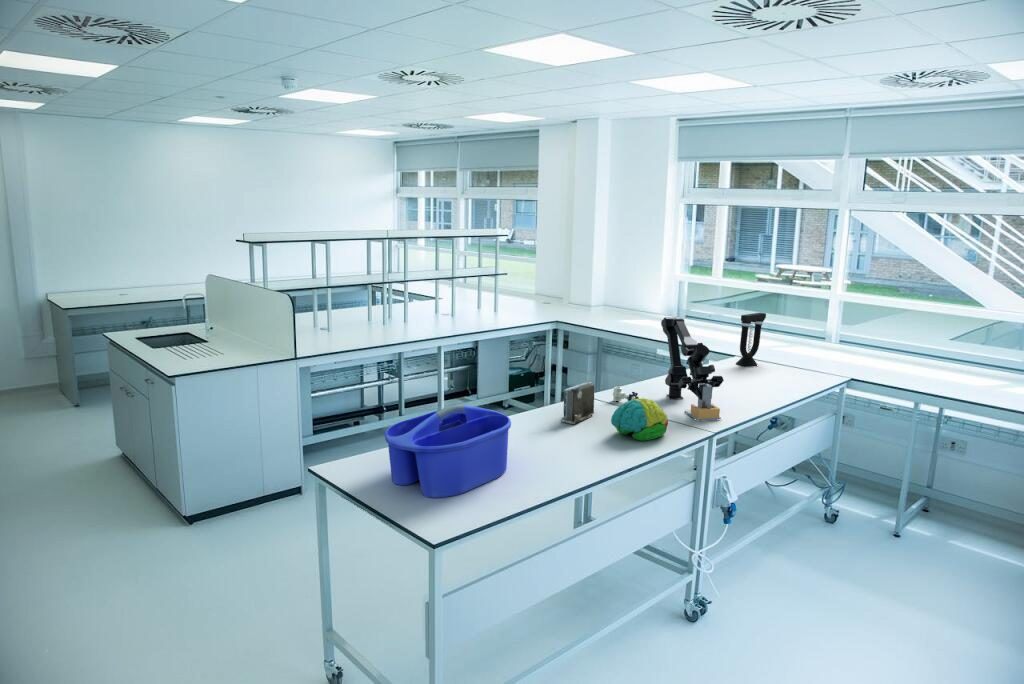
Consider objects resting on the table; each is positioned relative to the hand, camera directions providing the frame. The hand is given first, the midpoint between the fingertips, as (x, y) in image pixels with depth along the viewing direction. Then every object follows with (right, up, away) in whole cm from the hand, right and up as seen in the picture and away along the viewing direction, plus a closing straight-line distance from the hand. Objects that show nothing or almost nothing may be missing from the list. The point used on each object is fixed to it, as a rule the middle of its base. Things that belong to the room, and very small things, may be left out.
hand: (706, 399), depth 275 cm
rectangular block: (0, -7, +3) cm, 7 cm away
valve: (-31, -4, +23) cm, 39 cm away
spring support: (+56, +11, +104) cm, 119 cm away
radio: (-54, -8, +1) cm, 55 cm away
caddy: (-103, -20, -61) cm, 121 cm away
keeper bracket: (0, -8, +4) cm, 9 cm away
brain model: (-33, -13, -22) cm, 41 cm away
